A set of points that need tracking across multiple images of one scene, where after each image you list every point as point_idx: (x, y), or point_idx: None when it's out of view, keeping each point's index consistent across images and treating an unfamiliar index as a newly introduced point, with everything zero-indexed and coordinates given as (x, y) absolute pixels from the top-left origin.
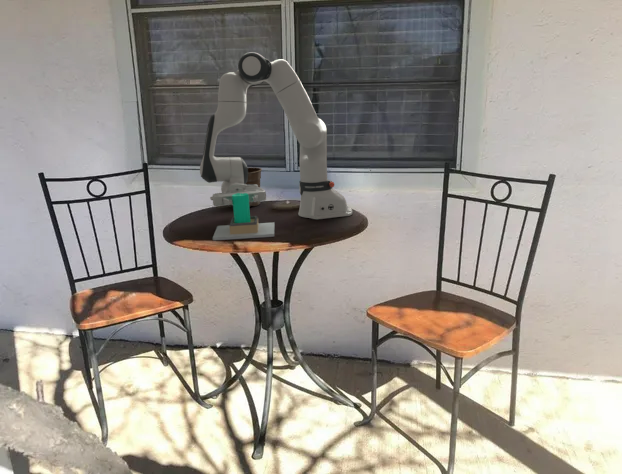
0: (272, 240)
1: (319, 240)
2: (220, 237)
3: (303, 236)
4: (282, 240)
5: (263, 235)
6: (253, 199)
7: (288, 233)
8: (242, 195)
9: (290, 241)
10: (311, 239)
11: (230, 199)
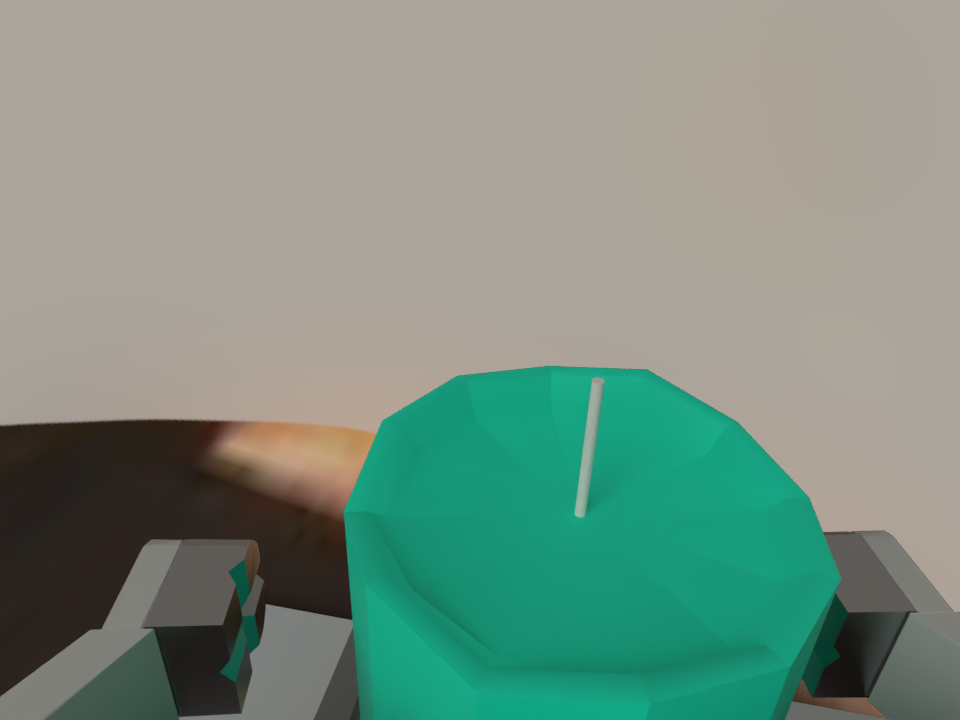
0: (294, 529)
1: (7, 425)
2: (806, 704)
3: (7, 527)
4: (223, 503)
5: (326, 621)
6: (254, 558)
7: (31, 658)
8: (518, 514)
9: (186, 468)
10: (28, 455)
11: (850, 602)
